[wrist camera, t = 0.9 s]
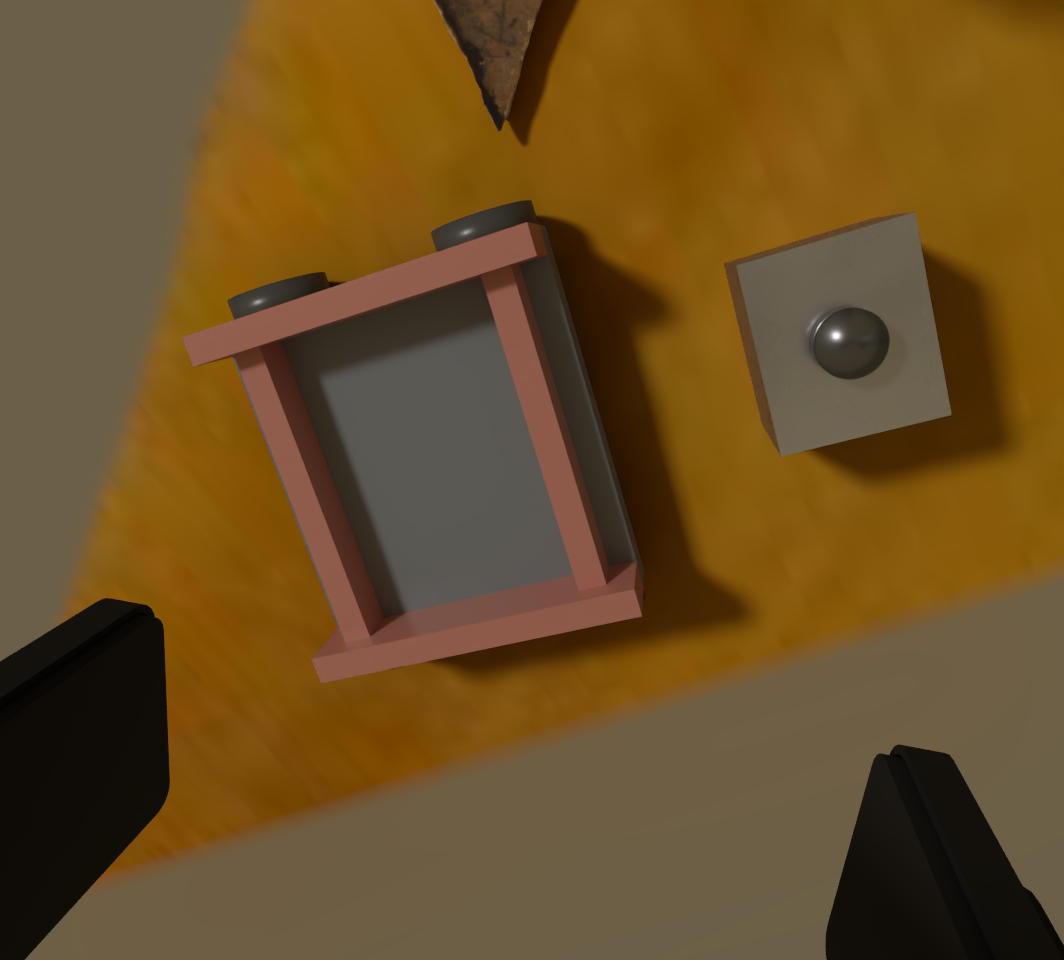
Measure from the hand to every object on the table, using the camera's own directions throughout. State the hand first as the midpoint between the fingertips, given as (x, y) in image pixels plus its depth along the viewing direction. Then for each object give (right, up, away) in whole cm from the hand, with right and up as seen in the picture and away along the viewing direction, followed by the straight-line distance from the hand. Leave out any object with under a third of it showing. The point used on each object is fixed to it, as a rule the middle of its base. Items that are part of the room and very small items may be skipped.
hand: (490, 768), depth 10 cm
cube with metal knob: (+11, +9, +18) cm, 23 cm away
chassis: (-2, +5, +21) cm, 22 cm away
